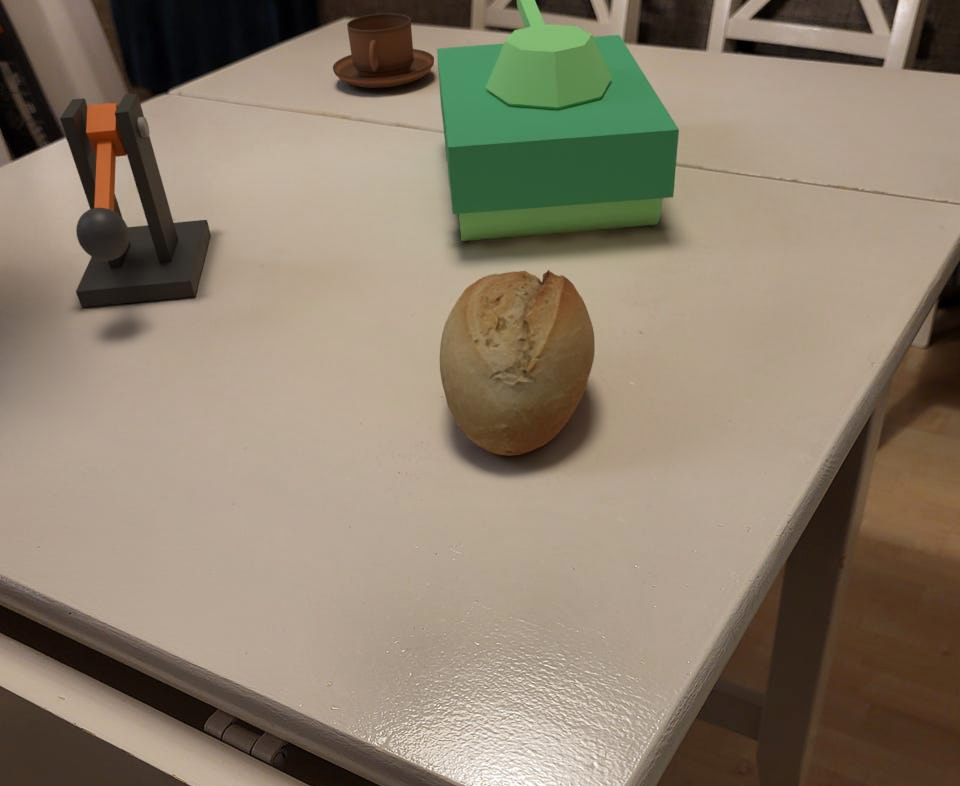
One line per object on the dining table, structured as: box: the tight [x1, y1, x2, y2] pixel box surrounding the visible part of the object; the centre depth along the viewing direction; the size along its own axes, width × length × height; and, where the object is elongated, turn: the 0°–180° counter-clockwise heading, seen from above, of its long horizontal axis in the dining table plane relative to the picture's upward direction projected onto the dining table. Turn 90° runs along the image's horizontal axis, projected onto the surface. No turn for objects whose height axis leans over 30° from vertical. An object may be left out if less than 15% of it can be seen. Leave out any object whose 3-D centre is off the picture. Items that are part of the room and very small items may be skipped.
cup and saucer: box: [332, 12, 435, 89], centre depth 114 cm, size 12×12×6 cm
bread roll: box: [439, 269, 596, 457], centre depth 61 cm, size 10×15×8 cm, turn 178°
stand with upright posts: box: [59, 93, 211, 308], centre depth 77 cm, size 12×9×13 cm
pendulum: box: [76, 102, 130, 261], centre depth 72 cm, size 13×4×4 cm, turn 5°
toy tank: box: [436, 0, 680, 242], centre depth 88 cm, size 18×12×35 cm
